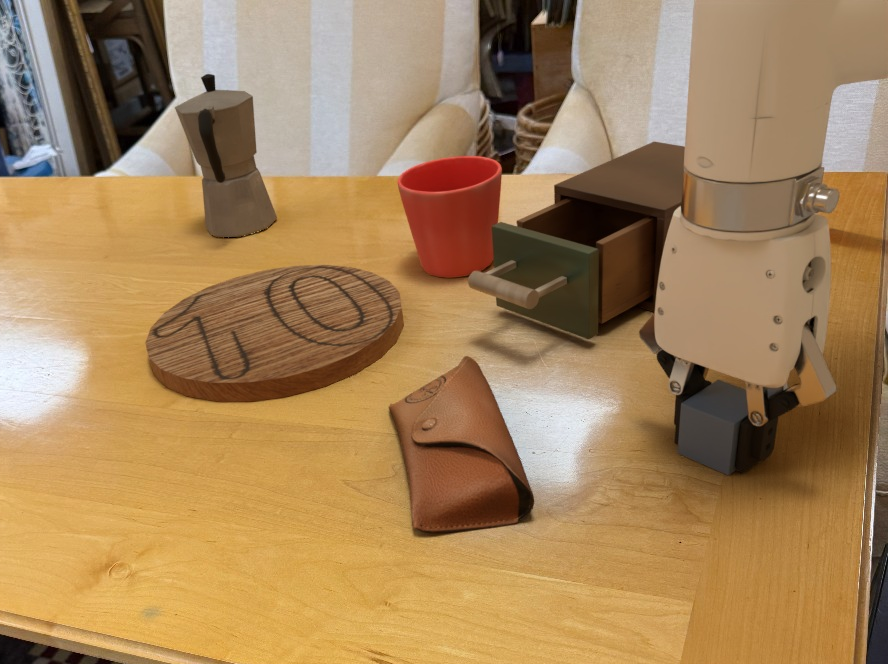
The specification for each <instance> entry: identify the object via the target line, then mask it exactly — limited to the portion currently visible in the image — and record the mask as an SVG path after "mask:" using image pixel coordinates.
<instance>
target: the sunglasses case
mask: <svg viewBox="0 0 888 664" xmlns="http://www.w3.org/2000/svg"><path fill="white" fill-rule="evenodd" d="M388 411H389V413H390V415H391V417H392V419H393V421H394V423H395V426H396V430H397V433H398V437H399V441H400V445H401V449H402V453H403V459H404V463H405V468H406V473H407V474H406V475H407V480H408V486H409V494H410V505H411V509H410V510H411V519H412V526H413V529H414V530H416V531H419V532H423V533H428V534H429V533H454V532H467V531H473V530H482V529H488V528H497V527H503V526H510V525H516V524H518V523H520V522H521V521H523V520H524V519H526V518H527V517H528V516H529V515H530V514H531V512H532V510H534V505H535V498H534V497H535V496H534V493H533V490H532V487H531V484H530V483H529V479H528V477H527V473H526V471H525V468H524V465H523V462H522V459H521V458H520V455H519V452H518V449H517V447H516V445H515V442H514V439H513V437H512V435H511V433H510V431H509V428H508V426H507V423H506V421H505V418H504V416H503V413H502V411H501V409H500V407H499V403H498V402H497V400H496V397H495V394H494V392H493V389H492V388H491V385H490V383H489V382H488V380H487V378H486V376H485V375H484V373H483V371H482V369H481V366H480V365H479V363H478V362H477V361H476V360H475V359H474V358H472V357H471V356H468V355H466V356H464V357H463V358H462V359H461V360H460V362H459V364H458V365H457V366H455V367H453V368H452V369H450V370H448V371H447V372H445V373H443V374H441V375H440V376H438V377H436V378H435V379H433V380H431V381H430V382H428V383H426V384H425V385H423V386H421V387H420V388H418V389H416V390H415V391H413V392H411V393H409V394H408V395H406V396H405V397H404V398H402V399H400V400H398V401H397V402H395V403H390V404H389V406H388Z"/></svg>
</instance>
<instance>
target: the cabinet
mask: <svg viewBox="0 0 888 664" xmlns="http://www.w3.org/2000/svg"><path fill="white" fill-rule="evenodd" d="M684 153H685V145H678V144H672V143H667V142H659V141H652V142H649V143H647V144H645V145H643V146H640V147H638V148H636V149H633V150H631V151H629V152H626V153H624V154H622V155H620V156H617V157H615V158H613V159H610V160H608V161H606V162H604V163H601V164H599V165H597V166H595V167H592V168H589V169H588V170H585V171H583V172H581V173H578V174H575V175H574V176H571V177H570V178H569V177H568V178H567V179H565V180H562V181H559V182H558V183H555V184H554V185H553V192H554V194H553V195H554V196H553V197H554V200H553V201H554V204H555V203H557V202H560V201H562V200H564V199H566V198H568V197H573V198H577V199H581V200H586V201H590V202H594V203H599V204H603V205H607V206H611V207H616V208H620V209H624V210H629V211H633V212H637V213H641V214H646V215H650V216H654V217H658V218H657V233H656V254H655V275H654V295H653V296H651V297H649V298H648V299H646V300H644V301H642V302H640V303H638V304H637V305H635V306H634V307H637V308H640V309H643V310H646V311H649V312H653V313H655V303H656V292H657V285H658V277H659V271H660V264H661V259H662V254H663V249H664V244H665V241H666V237H667V233H668V229H669V226H670V223H671V219H672V216H673V213H674V211H675V210H676V209H677V208H678V207H680V206H681V196H682V180H683V165H684Z"/></svg>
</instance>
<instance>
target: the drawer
mask: <svg viewBox="0 0 888 664" xmlns="http://www.w3.org/2000/svg"><path fill="white" fill-rule="evenodd" d="M657 218H658V217H654V216H650V215H646V214H641V213H637V212H633V211H629V210H624V209H620V208H616V207H611V206H607V205H603V204H599V203H594V202H590V201H586V200H581V199H577V198H573V197H568V198H566V199H564V200H562V201H560V202H557V203H555V202H554V203H553V204H551V205H549V206H546V207H543V208H541V209H540V210H537V211H535V212H533V213H531V214H528V215H526V216H524V217H522V218H520V219H517V220H516V225H513V224H510V223H507V222H503V221H498V223H497V224H495V225H493V226H492V242H493V258H494V259H493V268H492V269H490V270H488V271H486V272H483V271H473V272H472V273H471V274H470V275H468V280H467V284H468V287H469V288H470V289H471V290H474V291H477V292H480V293H483V294H486V295H489V296H492V297H494V298H495V305H496V306H497V307H498V308H502V309H504V310H507V311H510V312H513V313H515V314H518V315H520V316H524V317H526V318H529V319H532V320H534V321H537V322H540V323H542V324H545V325H548V326H551V327H553V328H556V329H558V330H560V331H561V330H562V331H565V332H567V333H570V334H573V335H576V336H578V337H581V338H584V339H586V340H591V339H593V338H595V337H597V336H599V324H604V323H606V322H608V321H609V320H611V319H613V318H615V317H617V316H619V315H621V314H622V313H624V312H626V311H628V310H630V309H632V308H633V307H636V306H635V305H637V304H638V303H640V302H642V301H644V300H646V299H648V298H649V297H651V296H653V295H654V275H655V254H656V233H657Z"/></svg>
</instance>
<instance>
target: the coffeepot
mask: <svg viewBox="0 0 888 664" xmlns="http://www.w3.org/2000/svg"><path fill="white" fill-rule="evenodd" d="M200 80H201V82H202V84H203V87H204V89H205V92H202V93H200V94H198V95H196V96H193V97H191V98H189V99H187V100H185V101H184V102H181V103H180V104H177V105H176V106H174V110H175V112H176V114H177V117H178V119H179V122H180V125H181V127H182V129H183V132H184V134H185V137H186V140H187V142H188V144H189V147H190V149H191V152H192V154H193V157H194V160H195V161H196V163H197V164H198V165H199V166H200V170H201V173H202V179H201V185H202V186H201V187H202V199H203V206H204V207H203V210H204V211H203V212H204V220H205V221H204V223H205V228H206V230H207V231H208V233H209V235H211V236H212V235H213V236H212V237H214V238H219V237H223V238H222V239H225V238H224V237H228V238H227V239H230V238H229V237H237V238H242V237H241V236H243V237H245V236H244V235H248V234H251V233H254V232H257V231H260V230H263V231H265V230H267V229H268V228H267V227H269V226H270V225H271V224H272V223H273V222H274V221H276V220H277V219H278V216H277V214H276V211H275V208H274V206H273V203H272V201H271V198H270V195H269V192H268V190H267V187H266V185H265V182H264V180H263V177H262V174H261V171H260V170H259V169H258V167H257V164H256V160H255V155H256V154H257V152H258V151H257V139H256V122H255V110H254V96H253V95H252V94H250V93H249V92H247V91H245V90H231V89H230V90H229V89H216V75H215V74H211V73H206V74H204V75H203V76H201V77H200ZM274 223H275V222H274ZM274 223H273V224H274ZM273 224H272V225H273ZM272 225H271V226H272ZM271 226H270V227H271ZM270 227H269V228H270ZM266 228H267V229H266ZM264 229H265V230H264ZM248 236H249V235H248Z"/></svg>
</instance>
